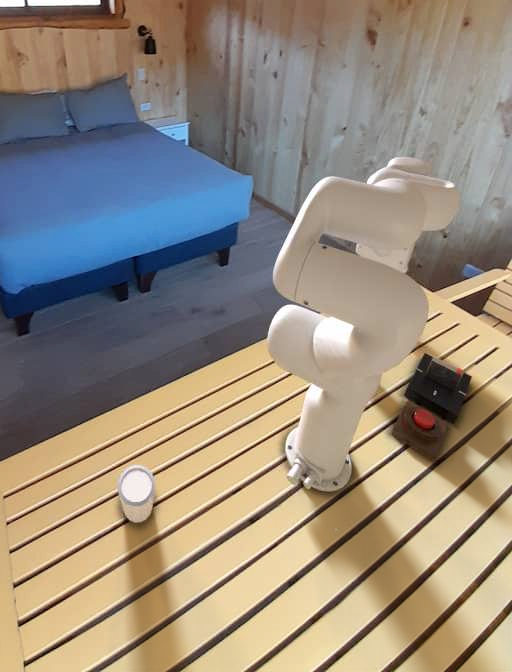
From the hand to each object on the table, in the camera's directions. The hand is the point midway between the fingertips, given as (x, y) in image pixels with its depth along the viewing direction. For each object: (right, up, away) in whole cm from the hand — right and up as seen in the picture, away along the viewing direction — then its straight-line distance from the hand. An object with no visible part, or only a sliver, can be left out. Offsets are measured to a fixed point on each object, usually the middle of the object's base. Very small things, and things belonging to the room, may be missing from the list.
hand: (374, 283), depth 93 cm
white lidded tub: (-54, -38, -17) cm, 69 cm away
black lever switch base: (+17, -26, +3) cm, 31 cm away
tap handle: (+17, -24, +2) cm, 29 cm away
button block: (+7, -31, -6) cm, 32 cm away
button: (+7, -28, -7) cm, 30 cm away
